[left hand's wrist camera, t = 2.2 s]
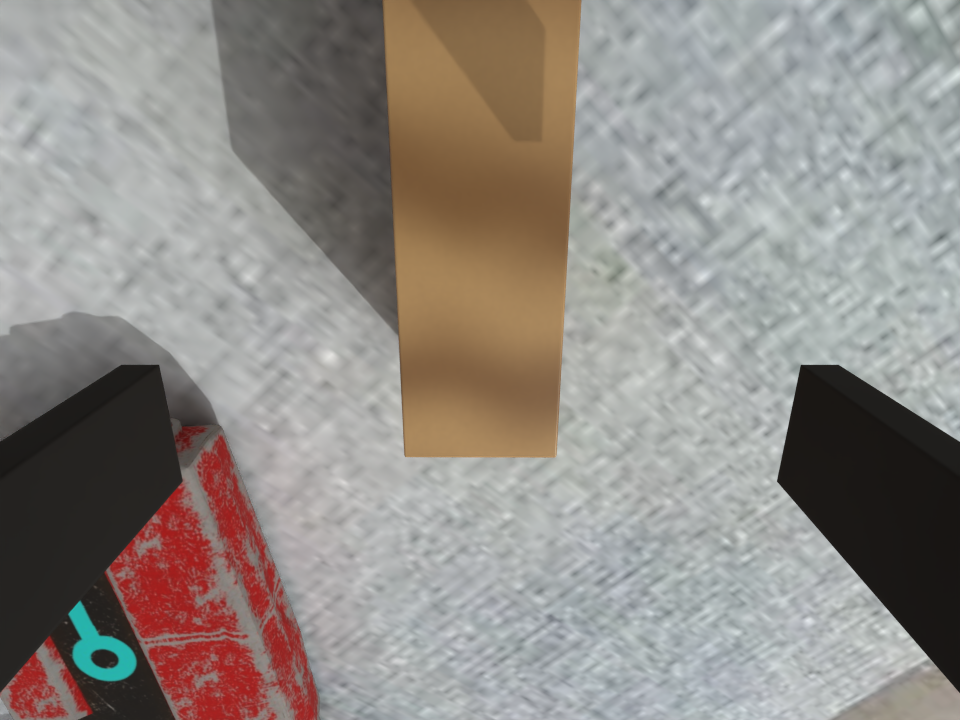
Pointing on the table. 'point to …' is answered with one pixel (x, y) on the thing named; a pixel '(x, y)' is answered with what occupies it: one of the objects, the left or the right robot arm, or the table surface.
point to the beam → (481, 218)
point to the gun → (179, 617)
